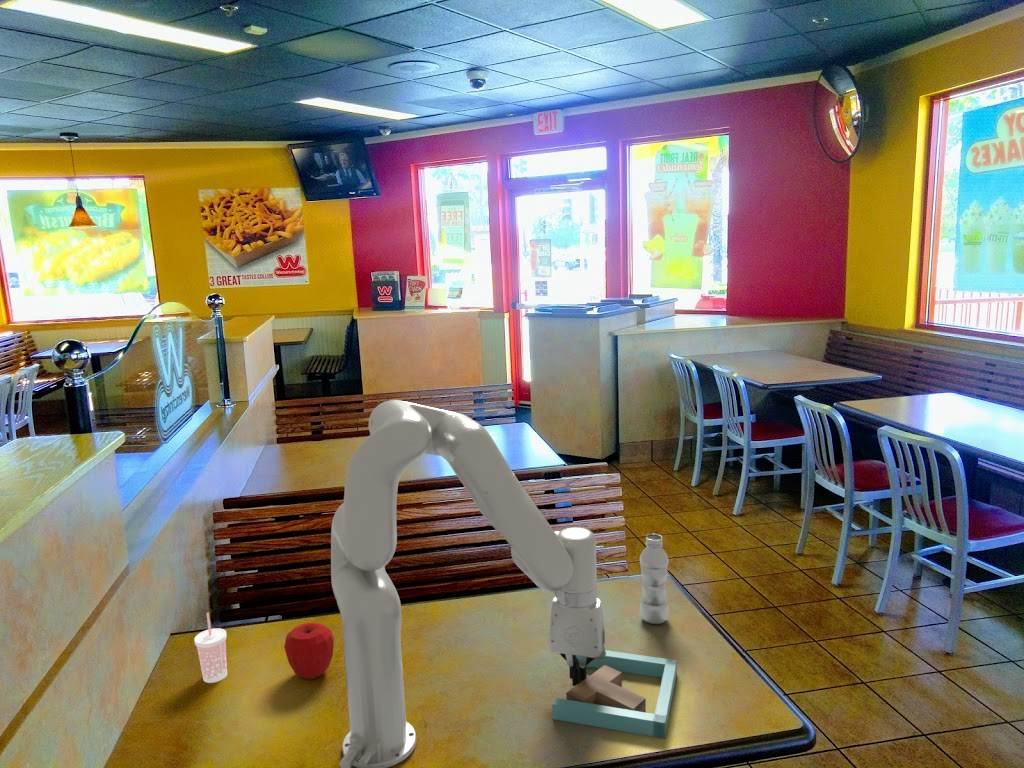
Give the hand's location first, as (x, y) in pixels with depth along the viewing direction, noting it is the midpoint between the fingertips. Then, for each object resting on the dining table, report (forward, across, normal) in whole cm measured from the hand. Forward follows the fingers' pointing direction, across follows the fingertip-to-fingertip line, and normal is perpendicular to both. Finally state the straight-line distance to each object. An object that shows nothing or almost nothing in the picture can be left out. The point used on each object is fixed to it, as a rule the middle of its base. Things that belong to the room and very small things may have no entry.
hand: (578, 682), depth 141 cm
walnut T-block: (+2, +7, -3) cm, 8 cm away
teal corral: (+2, +7, 0) cm, 7 cm away
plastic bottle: (+2, +11, +30) cm, 32 cm away
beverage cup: (+2, -72, -15) cm, 74 cm away
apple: (+2, -53, -9) cm, 54 cm away
